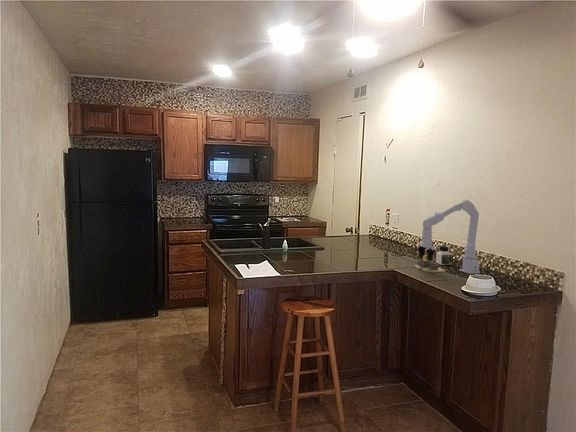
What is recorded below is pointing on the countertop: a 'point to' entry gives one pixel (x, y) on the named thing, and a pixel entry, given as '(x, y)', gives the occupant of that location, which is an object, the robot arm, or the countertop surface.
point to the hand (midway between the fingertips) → (425, 259)
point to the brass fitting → (425, 258)
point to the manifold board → (428, 266)
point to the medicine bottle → (443, 256)
